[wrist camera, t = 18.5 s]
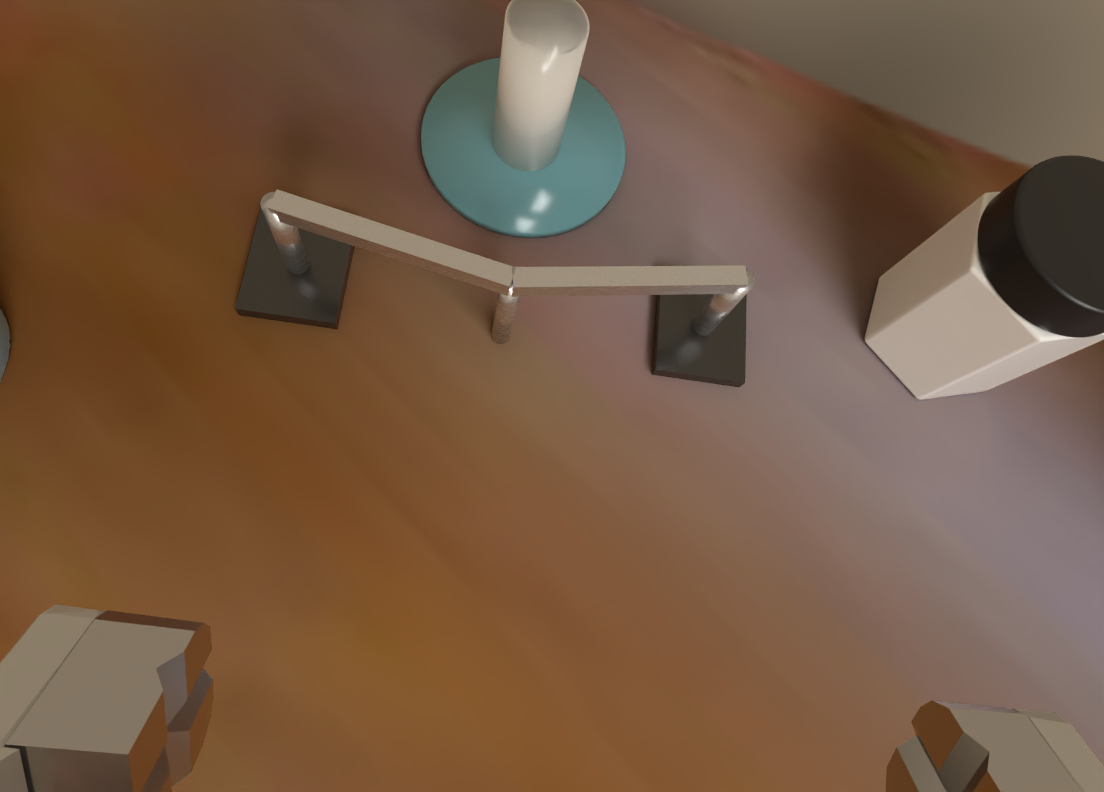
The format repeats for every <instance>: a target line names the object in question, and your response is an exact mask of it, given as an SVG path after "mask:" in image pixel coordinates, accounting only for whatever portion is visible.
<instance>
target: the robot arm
mask: <svg viewBox="0 0 1104 792" xmlns="http://www.w3.org/2000/svg"><path fill="white" fill-rule="evenodd" d="M211 650H212V645H211V633H210V626H208V625H206V624H205V623H200V622H192V621H185V620H177V619H169V618H162V617H154V616H147V615H139V614H132V613H124V612H117V611H109V610H107V611H103V610H95V609H87V608H80V607H72V606H64V605H57V604H56V605H54V606H53V607H51V608H49V609H48V610H46V611H45V612H43V613H41V614H40V615H39V616H38V617H37V618H36V619H35V621H34V622H33V623H32V624H31V626H30V627H29V628H28V629H27V630H26V632H25V633H24V634H23V635H22V637H21V638H20V639H19V640H18V641H17V643H16V644H15V645H14V646H13V648H12V649H11V650H10V651H9V652H8V654H7V655H6V656H5V657H4V659H3V660H2V661H1V662H0V792H172V790H171V787H172V786H174V785H175V784H176V783H178V782H179V781H180V780H182V779H183V778H184V777H185V776H187V775H188V774H189V773H191V772H192V769H193V767H194V765H195V762H196V760H197V758H198V755H199V753H200V750H201V748H202V746H203V742H204V739H205V735H206V732H207V728H208V724H209V721H210V717H211V710H212V702H213V679H212V678H211V677H210V676H209V675H208V673H207V672H206V671H205V670H204V669H203V666H204V664H205V662H206V660H207V658H208V656H209V654H210V652H211ZM912 725H913V728H914V730H915V733H916V736H915V737H913V738H911V739H910V740H908V741H907V742H905V743H903V744H902V745H900V746H898V747H897V748H896V750H895V752H894V754H893V756H892V758H891V760H890V762H889V764H888V766H887V776H886V792H1104V766H1103V765H1102V764H1101V763H1100V761H1099V760H1098V759H1097V757H1096V756H1095V755H1094V753H1093V752H1092V751H1091V750H1090V748H1089V747H1088V746H1087V744H1086V743H1085V742H1084V741H1083V739H1082V738H1081V737H1080V735H1079V734H1078V733H1077V732H1076V730H1075V729H1074V728H1073V726H1072V725H1071V724H1070V723H1069V722H1068V721H1066V720H1065V719H1063V718H1062V717H1061V716H1059V715H1058V714H1056V713H1055V712H1045V711H1035V710H1025V709H1015V708H1014V709H1009V708H1006V707H997V706H987V705H976V704H966V703H955V702H945V701H934V700H932V701H930V702H928V703H927V704H925V705H923V706H921V707H920V709H919V710H918V712H917V714H916V715H915V717H914V719H913V720H912Z"/></svg>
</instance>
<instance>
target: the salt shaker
mask: <svg viewBox="0 0 1104 792" xmlns="http://www.w3.org/2000/svg"><path fill="white" fill-rule="evenodd" d="M588 35H589V20H588V17H587V15H586V13H585V11H584V9H583V8H582V7H581V5H580V4H579V3H578V2H577V1H575V0H512V1H511V2H510V3H509V5H508V7H507V9H506V13H505V21H504V31H503V40H502V49H501V58H500V67H499V77H498V86H497V95H496V104H495V113H494V123H493V132H492V145H493V148H494V150H495V152H496V154H497V156H498V157H499V158H500V159H501V160H502V161H503V162H504V163H506V164H507V165H509V166H510V167H513V168H515V169H518V170H522V171H536V170H540V169H543V168H545V167H547V166H549V165H550V164H551V163H552V162H553V161H554V160H555V159H556V157H557V155H558V153H559V150H560V146H561V142H562V138H563V134H564V130H565V126H566V122H567V118H568V114H569V110H570V106H571V102H572V98H573V94H574V90H575V86H576V82H577V78H578V74H579V70H580V66H581V62H582V58H583V54H584V50H585V46H586V42H587V39H588Z"/></svg>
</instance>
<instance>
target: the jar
mask: <svg viewBox="0 0 1104 792" xmlns="http://www.w3.org/2000/svg"><path fill="white" fill-rule="evenodd" d="M1102 340H1104V162H1103V161H1100V160H1096V159H1093V158H1089V157H1083V156H1060V157H1054V158H1051V159H1048V160H1045V161H1043V162H1041V163H1039V164H1037V165H1035V166H1034V167H1033V168H1031V169H1030V170H1029V171H1027V172H1026V173H1025V174H1024V175H1022V176H1021V177H1020V178H1018V179H1017V180H1016V181H1015V182H1013V183H1012V184H1011V185H1009V186H1008V187H1007V188H1006V189H1004V190H1003V191H1000V192H987V193H984V194H983V195H982V196H980V197H979V198H978V199H977V200H975V201H974V202H973V203H972V204H970V205H969V206H968V207H967V208H965V209H964V210H963V211H962V212H960V213H959V214H958V215H957V216H955V217H954V218H953V219H952V220H950V221H949V222H948V223H947V224H945V225H944V226H943V227H942V228H940V229H939V230H938V231H937V232H935V233H934V234H933V235H932V236H930V237H929V238H928V239H927V240H925V241H924V242H923V243H922V244H920V245H919V246H918V247H917V248H915V249H914V250H913V251H912V252H910V253H909V254H908V255H907V256H905V257H904V258H903V259H902V260H900V261H899V262H898V263H897V264H895V265H894V266H893V267H892V268H890V269H889V270H888V271H887V272H885V273H884V274H883V275H882V276H881V277H880V278H879V281H878V285H877V289H876V293H875V297H874V301H873V306H872V310H871V314H870V318H869V322H868V326H867V330H866V335H865V342H866V344H867V345H868V346H869V347H870V348H871V349H872V350H873V351H874V352H875V353H876V354H877V356H878V357H879V358H880V359H881V360H882V361H883V362H884V363H885V364H886V365H887V366H888V368H889V369H890V370H891V371H892V372H893V373H894V374H895V375H896V376H897V377H898V378H899V380H900V381H901V382H902V383H903V384H904V385H905V386H906V387H907V388H908V389H909V390H910V392H911V393H912V394H913V395H914V396H915V397H916V398H917V399H929V398H936V397H944V396H951V395H959V394H966V393H974V392H982V391H987V390H989V389H992V388H994V387H996V386H998V385H1001V384H1003V383H1005V382H1008V381H1010V380H1012V379H1014V378H1017V377H1019V376H1021V375H1024V374H1026V373H1028V372H1030V371H1033V370H1035V369H1037V368H1040V367H1042V366H1044V365H1047V364H1049V363H1051V362H1053V361H1056V360H1058V359H1060V358H1063V357H1065V356H1067V355H1069V354H1072V353H1074V352H1076V351H1079V350H1081V349H1083V348H1085V347H1088V346H1090V345H1092V344H1095V343H1097V342H1099V341H1102Z"/></svg>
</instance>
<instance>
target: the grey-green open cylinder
mask: <svg viewBox="0 0 1104 792" xmlns="http://www.w3.org/2000/svg"><path fill="white" fill-rule="evenodd" d="M10 338H11V337H10V329H9V326H8V323H7V320H6V318H5V316H4V314H3V313H2V311H1V309H0V382H1V380H2V376H3V374H4V372H5V367H6V365H7V363H8V359H9V350H10V347H11V344H10V342H9V340H10Z"/></svg>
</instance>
